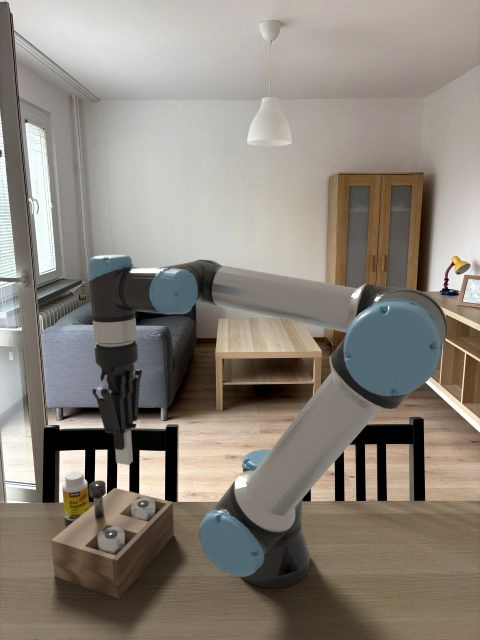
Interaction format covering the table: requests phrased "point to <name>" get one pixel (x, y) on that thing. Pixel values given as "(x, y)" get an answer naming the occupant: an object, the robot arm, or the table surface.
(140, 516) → the knob far
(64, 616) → the table surface
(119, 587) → the wooden box
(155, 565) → the table surface
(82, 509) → the supplement bottle
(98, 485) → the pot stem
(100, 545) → the knob near
